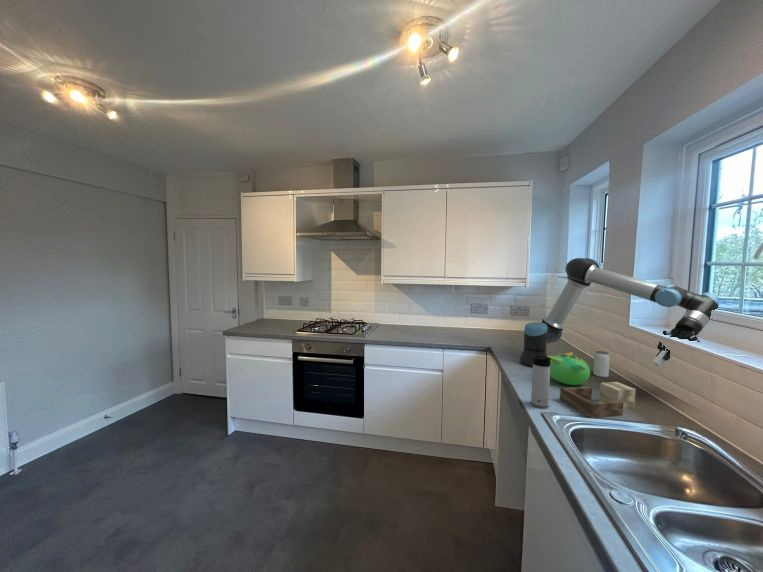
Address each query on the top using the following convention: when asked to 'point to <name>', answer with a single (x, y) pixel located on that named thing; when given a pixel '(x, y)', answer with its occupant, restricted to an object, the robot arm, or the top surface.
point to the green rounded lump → (569, 369)
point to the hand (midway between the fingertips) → (656, 364)
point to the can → (601, 364)
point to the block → (618, 394)
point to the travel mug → (540, 382)
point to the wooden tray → (581, 402)
